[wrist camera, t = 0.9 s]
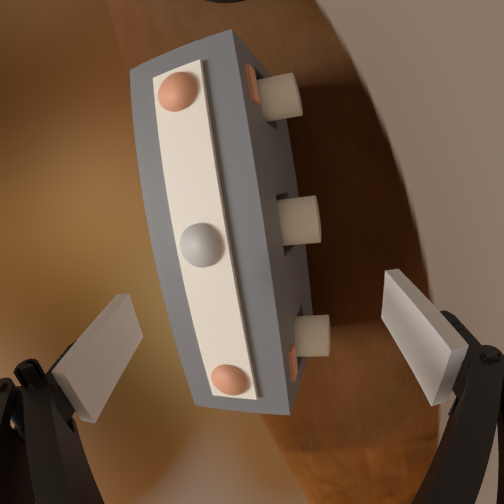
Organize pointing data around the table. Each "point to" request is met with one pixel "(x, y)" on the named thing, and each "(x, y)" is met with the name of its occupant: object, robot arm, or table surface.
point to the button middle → (299, 220)
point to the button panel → (221, 223)
